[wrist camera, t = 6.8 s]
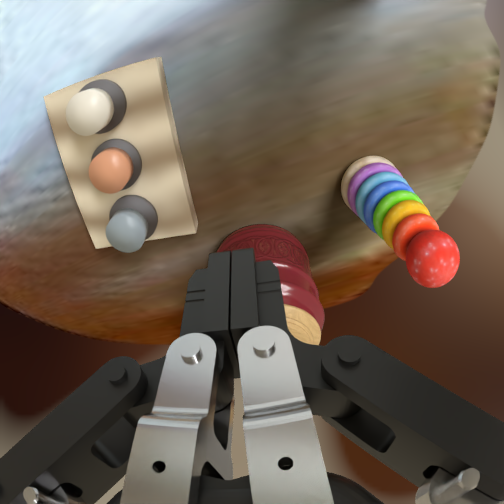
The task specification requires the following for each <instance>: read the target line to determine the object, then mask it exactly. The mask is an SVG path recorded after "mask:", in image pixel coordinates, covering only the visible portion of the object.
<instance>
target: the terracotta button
mask: <svg viewBox="0 0 504 504" xmlns="http://www.w3.org/2000/svg"><path fill="white" fill-rule="evenodd" d="M132 174H133V162H132V159H131V157H130V156H129V155H128V154H127V153H126V152H125V151H124V150H122V149H120V148H116V147H110V148H107V149H105V150H103V151H102V152H100V153H99V154H98V155H97V156H96V157H95V158H94V159H93V160H92V161H91V163H90V166H89V178H90V180H91V182H92V184H93V185H94V186H95V188H97V189H98V190H99V191H101V192H104V193H108V194H112V193H117V192H119V191H120V190H122V189H123V188H124V186H125V185H126V184H127V182H128V181H129V180H130V178H131V177H132Z"/></svg>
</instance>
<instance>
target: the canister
mask: <svg viewBox="0 0 504 504" xmlns="http://www.w3.org/2000/svg"><path fill="white" fill-rule="evenodd" d="M246 248H254V253H255V260H256V262H260V261H268V260H271V261H272V262H273V264H274V265H275V266H276V267H277V268H278V270H279V276H280V283H281V289H282V295H283V301H284V308H285V314H286V321H287V326H288V329H289V331H290V333H291V334H292V335H293V336H294V337H295V338H296V339H298V340H300V341H302V342H304V343H307V344H312V345H319V343H320V338H321V330H322V328H323V325H324V311H323V307H322V305H321V303H320V301H319V294H318V289H317V287H316V284H315V283H314V281H313V277H312V274H311V270H310V262H309V258H308V255H307V252H306V250H305V248H304V247H303V245H302V244H301V243H300V241H299V240H298V239H297V238H296V237H295V236H294V235H293V234H292V233H290V232H289V231H287V230H285V229H283V228H281V227H278V226H274V225H267V224H257V225H250V226H246V227H243V228H241V229H238V230H236V231H235V232H233V233H231V234H230V235H229V236H228V237H226V238H225V239H224V241H223V242H222V243H221V244H220V246H219V248H218V250H217V252H224V251H231V252H232V250H239V249H246ZM217 252H216V253H217Z"/></svg>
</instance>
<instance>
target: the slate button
mask: <svg viewBox="0 0 504 504" xmlns="http://www.w3.org/2000/svg"><path fill="white" fill-rule="evenodd" d="M147 233H148V223H147V221H146V219H145V217H144V216H143V215H142V214H141V213H140V212H138V211H136V210H134V209H129V208H124V209H120V210H118V211H117V212H116V213H115V214H114V215H113V217H112V218H111V220H110V221H109V223H108V225H107V227H106V237H107V240H108V241H109V243H110V244H111V245H112V246H113V247H114V248H115V249H117V250H119V251H122V252H127V253H129V252H134V251H137V250H138V249H140V248H141V246H142V245H143V243H144V240H145V238H146V236H147Z"/></svg>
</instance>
